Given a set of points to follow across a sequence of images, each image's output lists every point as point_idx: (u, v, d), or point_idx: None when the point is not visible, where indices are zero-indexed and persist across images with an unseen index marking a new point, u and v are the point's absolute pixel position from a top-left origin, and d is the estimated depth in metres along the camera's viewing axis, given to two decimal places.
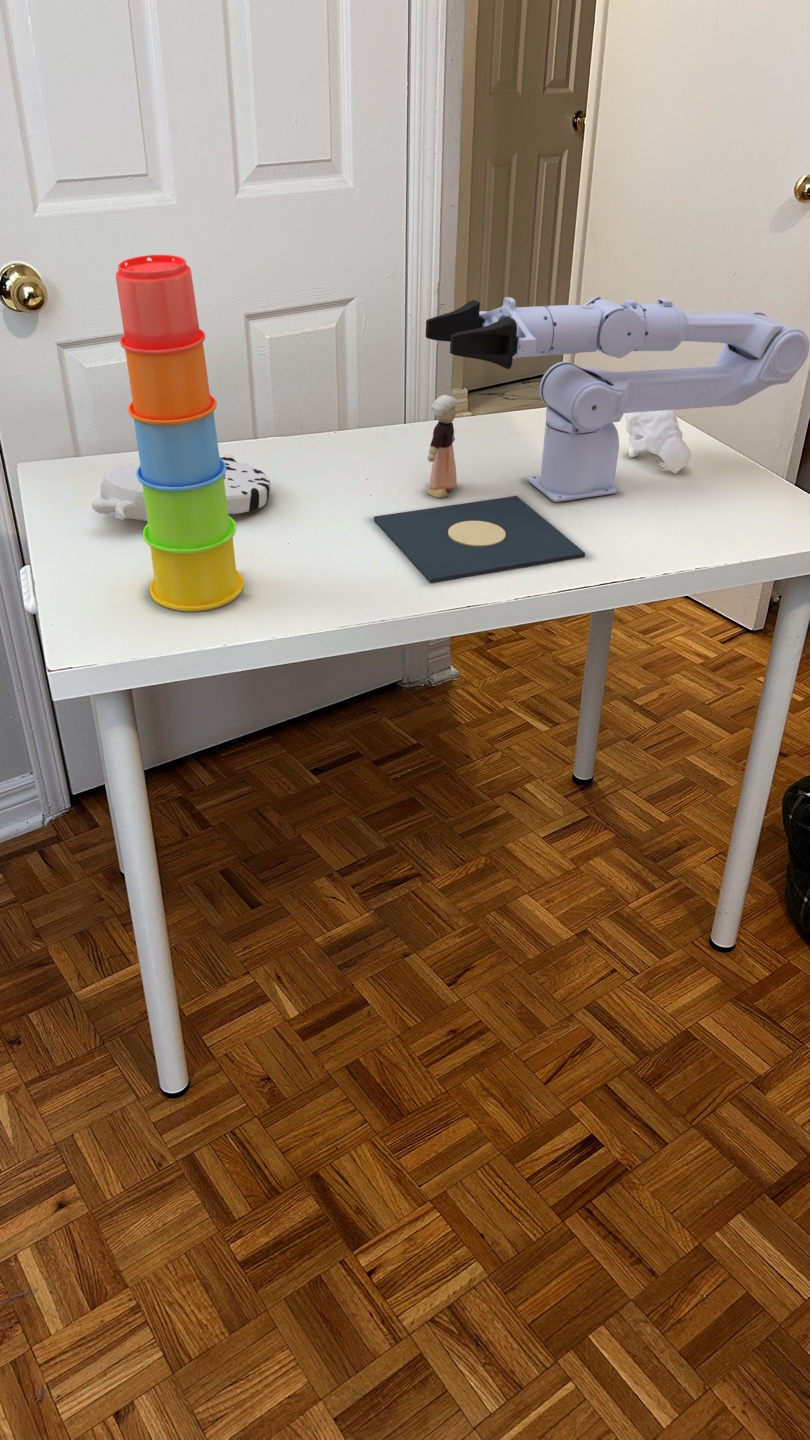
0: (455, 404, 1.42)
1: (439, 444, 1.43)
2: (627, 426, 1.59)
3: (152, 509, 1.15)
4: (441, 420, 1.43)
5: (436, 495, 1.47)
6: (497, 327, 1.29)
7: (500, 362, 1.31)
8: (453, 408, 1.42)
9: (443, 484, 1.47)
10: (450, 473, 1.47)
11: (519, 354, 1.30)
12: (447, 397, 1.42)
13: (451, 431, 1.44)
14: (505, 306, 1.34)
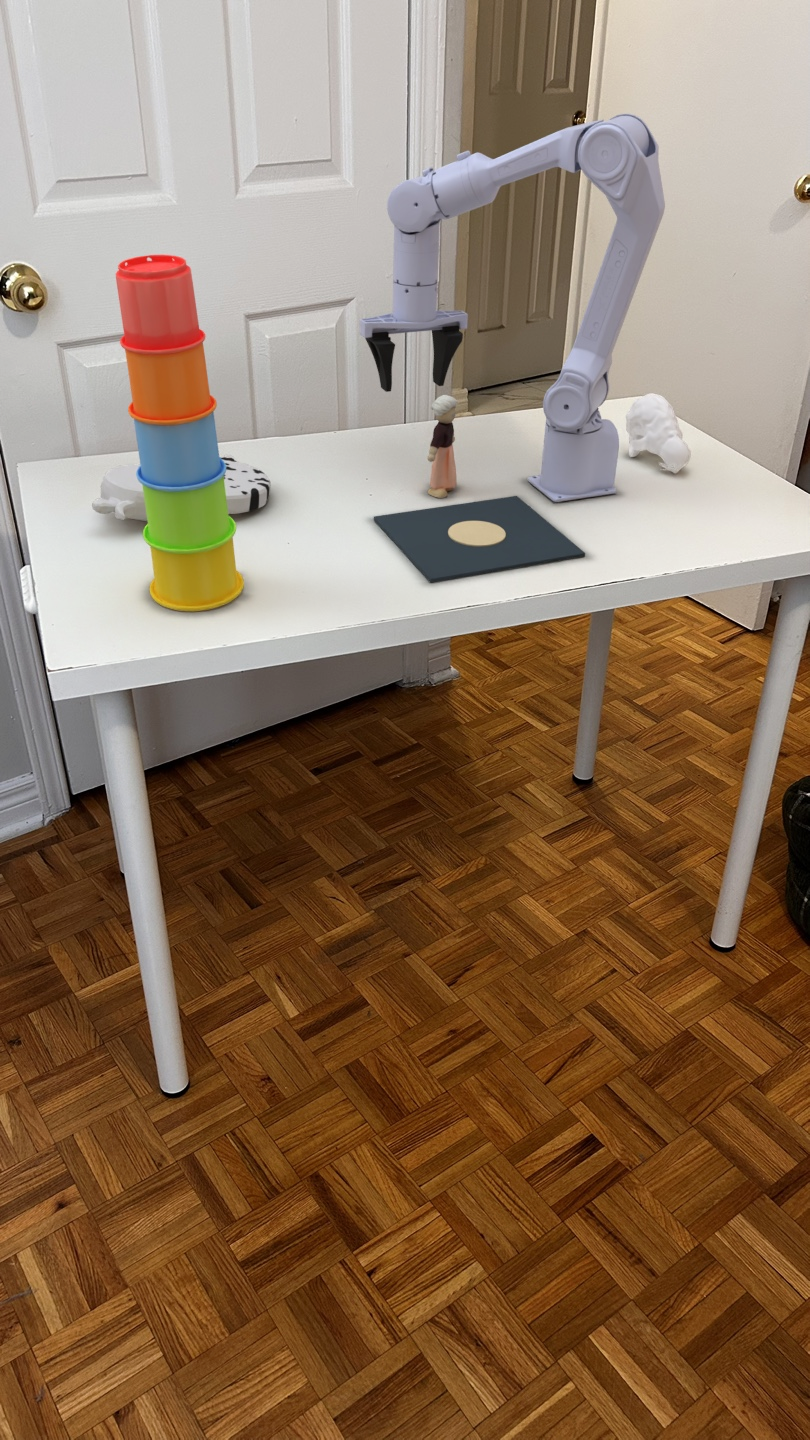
0: (455, 404, 1.42)
1: (439, 444, 1.43)
2: (627, 426, 1.59)
3: (152, 509, 1.15)
4: (441, 420, 1.43)
5: (436, 495, 1.47)
6: None
7: (378, 352, 1.45)
8: (453, 408, 1.42)
9: (443, 484, 1.47)
10: (450, 473, 1.47)
11: None
12: (447, 397, 1.42)
13: (451, 431, 1.44)
14: None
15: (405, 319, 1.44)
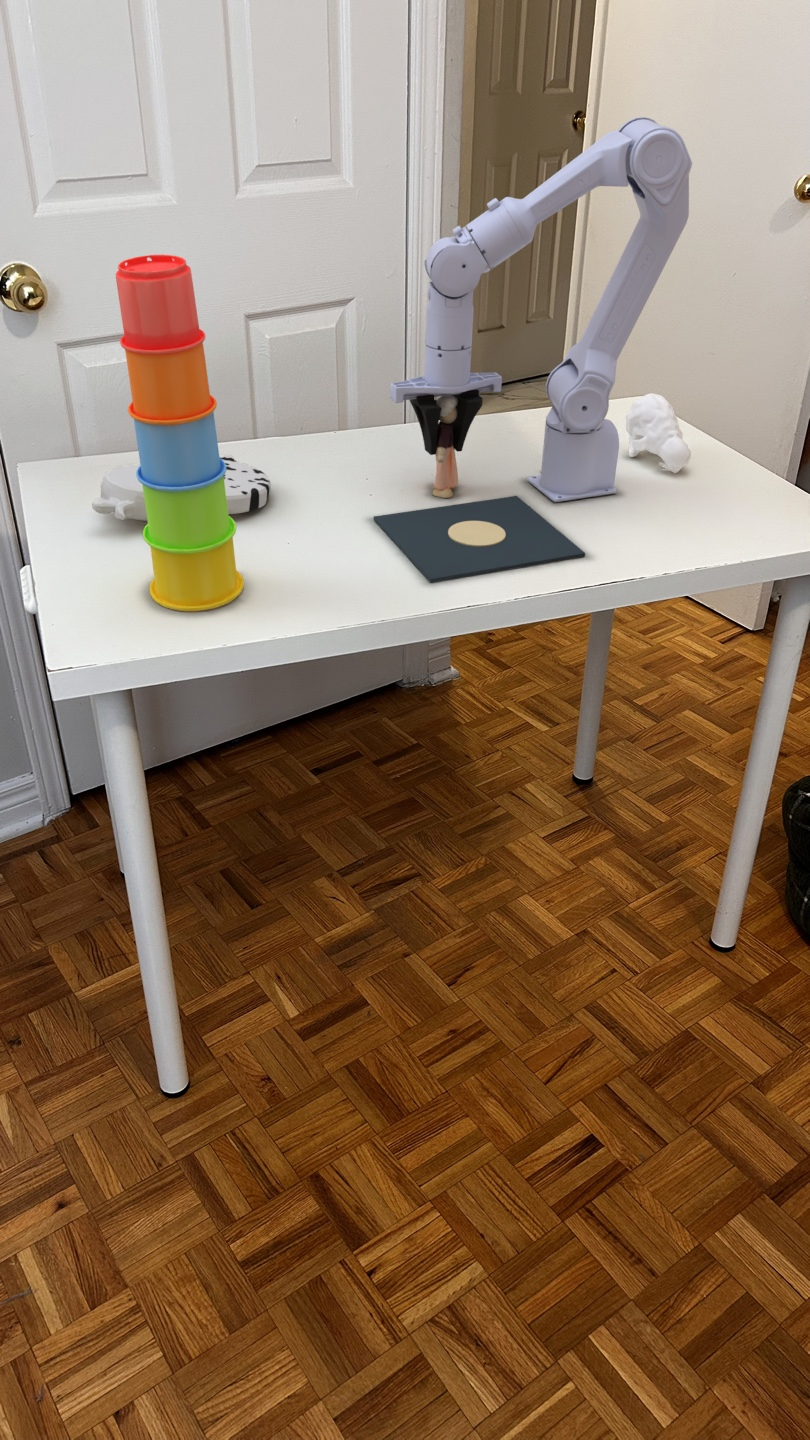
0: (456, 403, 1.43)
1: (447, 444, 1.43)
2: (627, 426, 1.59)
3: (152, 509, 1.15)
4: (445, 420, 1.43)
5: (444, 496, 1.47)
6: None
7: (424, 416, 1.40)
8: None
9: (448, 484, 1.47)
10: (454, 472, 1.47)
11: None
12: (449, 397, 1.42)
13: (452, 430, 1.45)
14: None
15: (438, 384, 1.39)
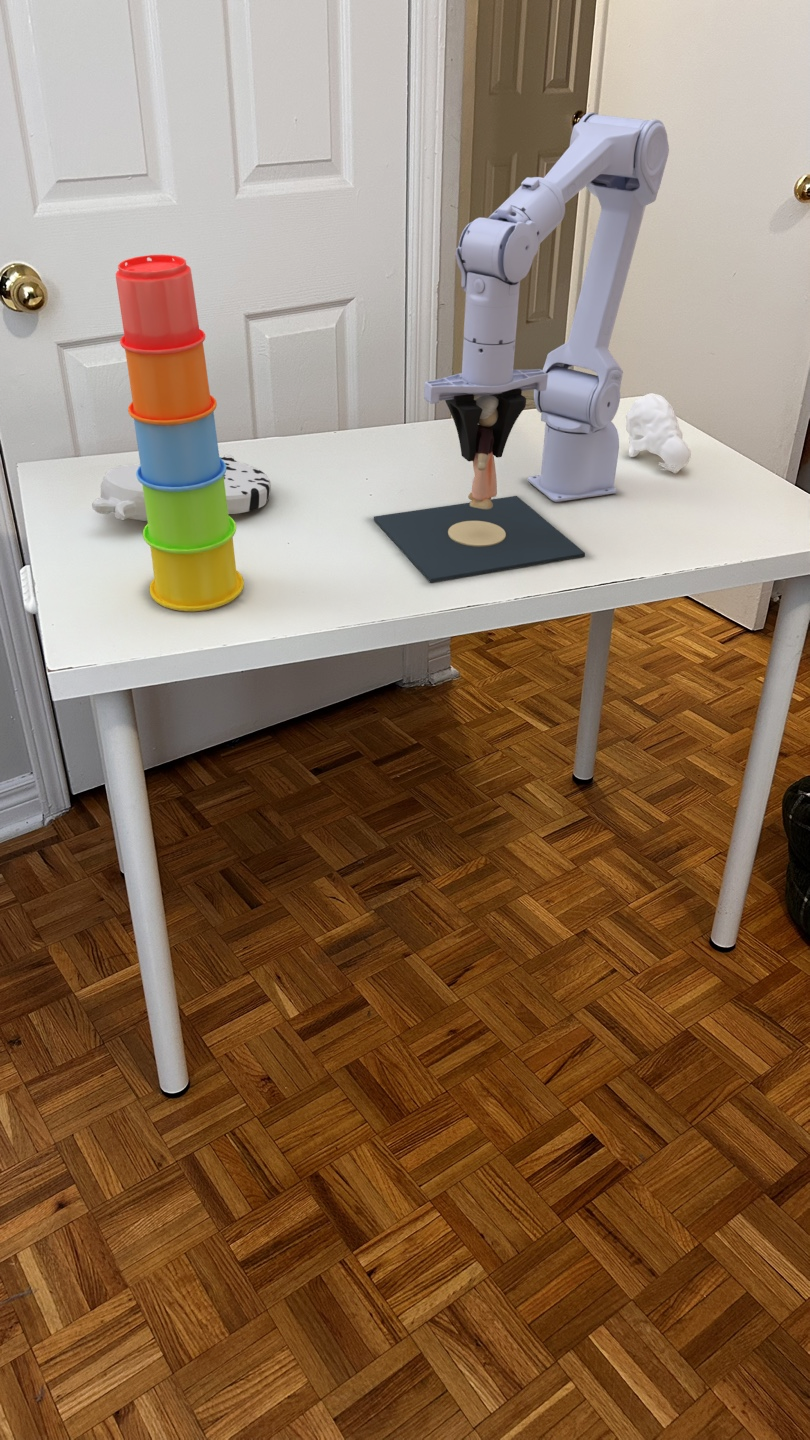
0: (497, 404, 1.28)
1: (488, 450, 1.28)
2: (627, 426, 1.59)
3: (152, 509, 1.15)
4: (485, 423, 1.28)
5: (483, 507, 1.32)
6: (451, 411, 1.29)
7: (463, 418, 1.25)
8: (495, 408, 1.28)
9: (487, 494, 1.32)
10: (493, 480, 1.32)
11: None
12: (490, 397, 1.27)
13: None
14: None
15: (478, 382, 1.24)
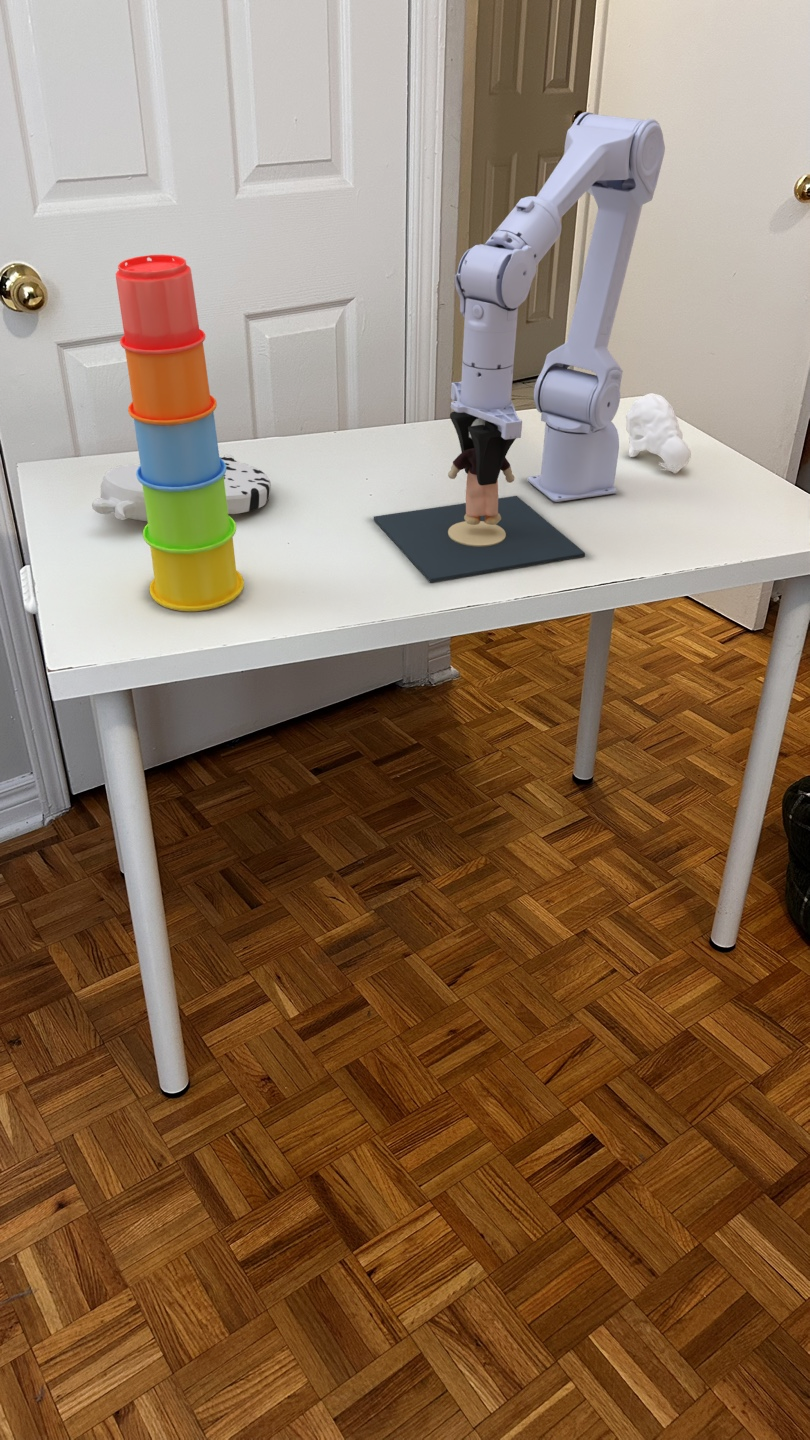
0: None
1: None
2: (627, 426, 1.59)
3: (152, 509, 1.15)
4: None
5: (500, 517, 1.36)
6: (479, 448, 1.27)
7: (512, 440, 1.27)
8: None
9: None
10: None
11: None
12: None
13: None
14: None
15: (509, 402, 1.26)
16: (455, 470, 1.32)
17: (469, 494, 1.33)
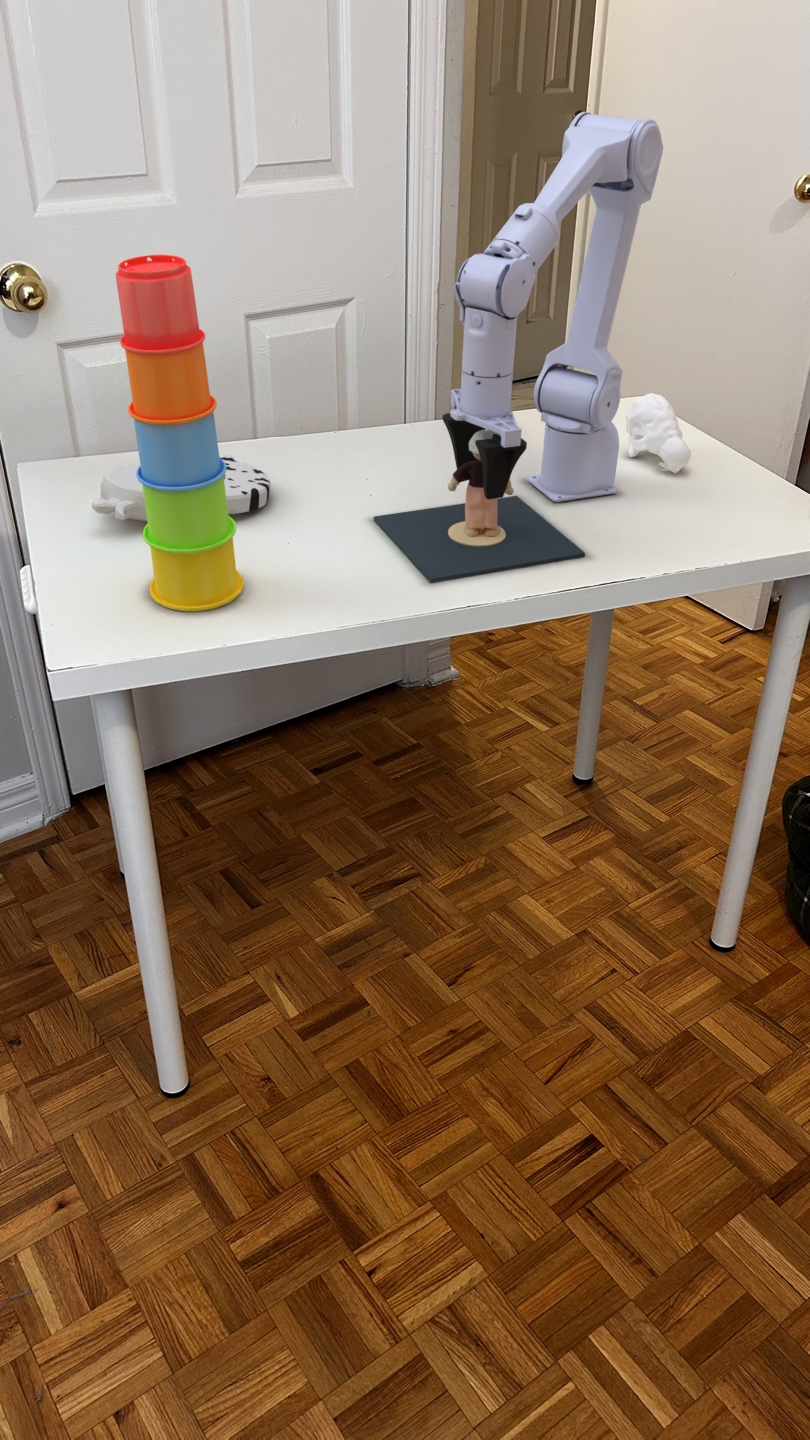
0: None
1: None
2: (627, 426, 1.59)
3: (152, 509, 1.15)
4: None
5: (499, 529, 1.37)
6: (486, 462, 1.26)
7: (519, 454, 1.26)
8: None
9: None
10: None
11: None
12: None
13: None
14: None
15: (508, 410, 1.27)
16: (455, 483, 1.32)
17: (468, 506, 1.34)
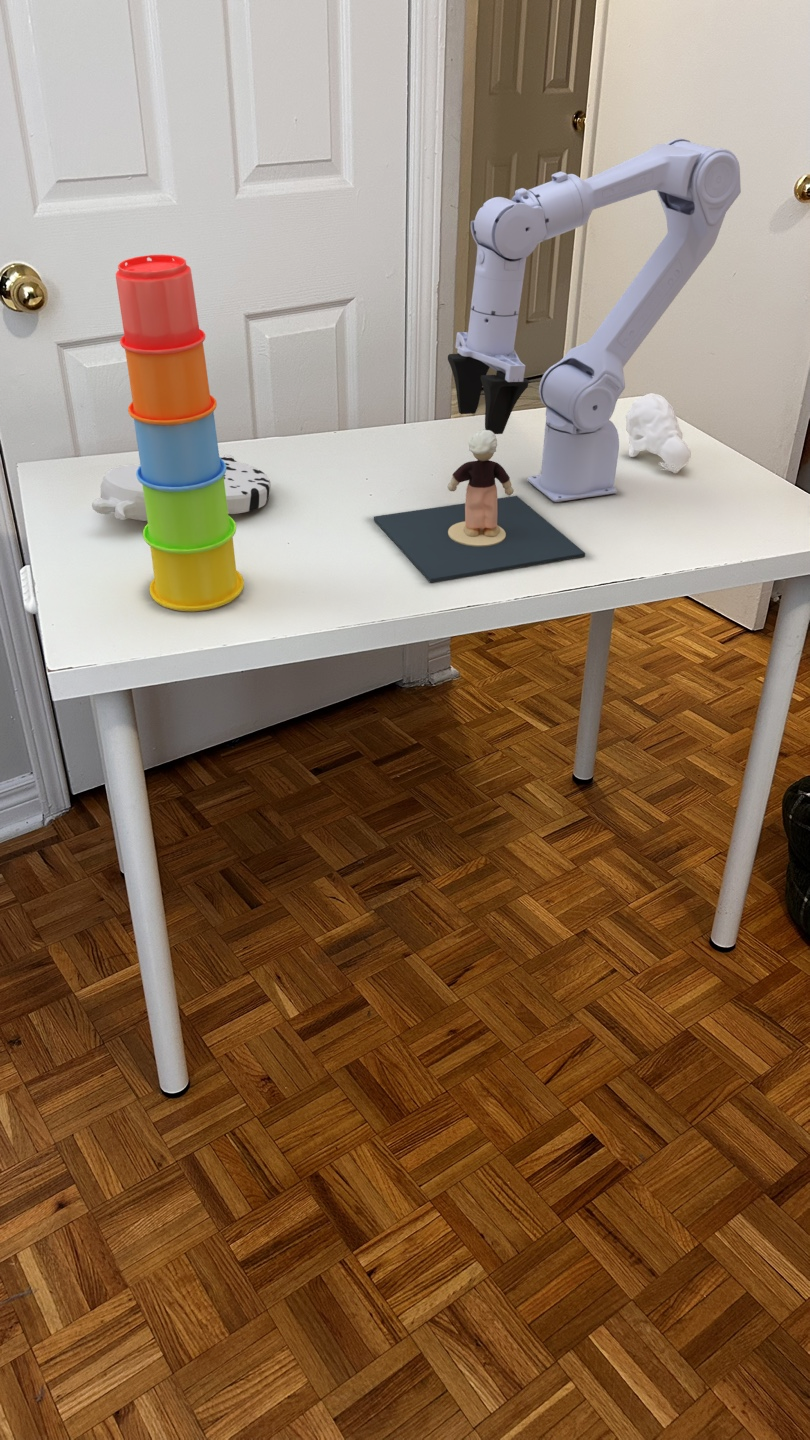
0: None
1: None
2: (627, 426, 1.59)
3: (152, 509, 1.15)
4: (492, 455, 1.31)
5: (499, 529, 1.37)
6: (490, 396, 1.33)
7: (521, 391, 1.34)
8: None
9: None
10: None
11: None
12: (488, 430, 1.30)
13: None
14: None
15: (512, 350, 1.34)
16: (455, 483, 1.32)
17: (468, 506, 1.34)
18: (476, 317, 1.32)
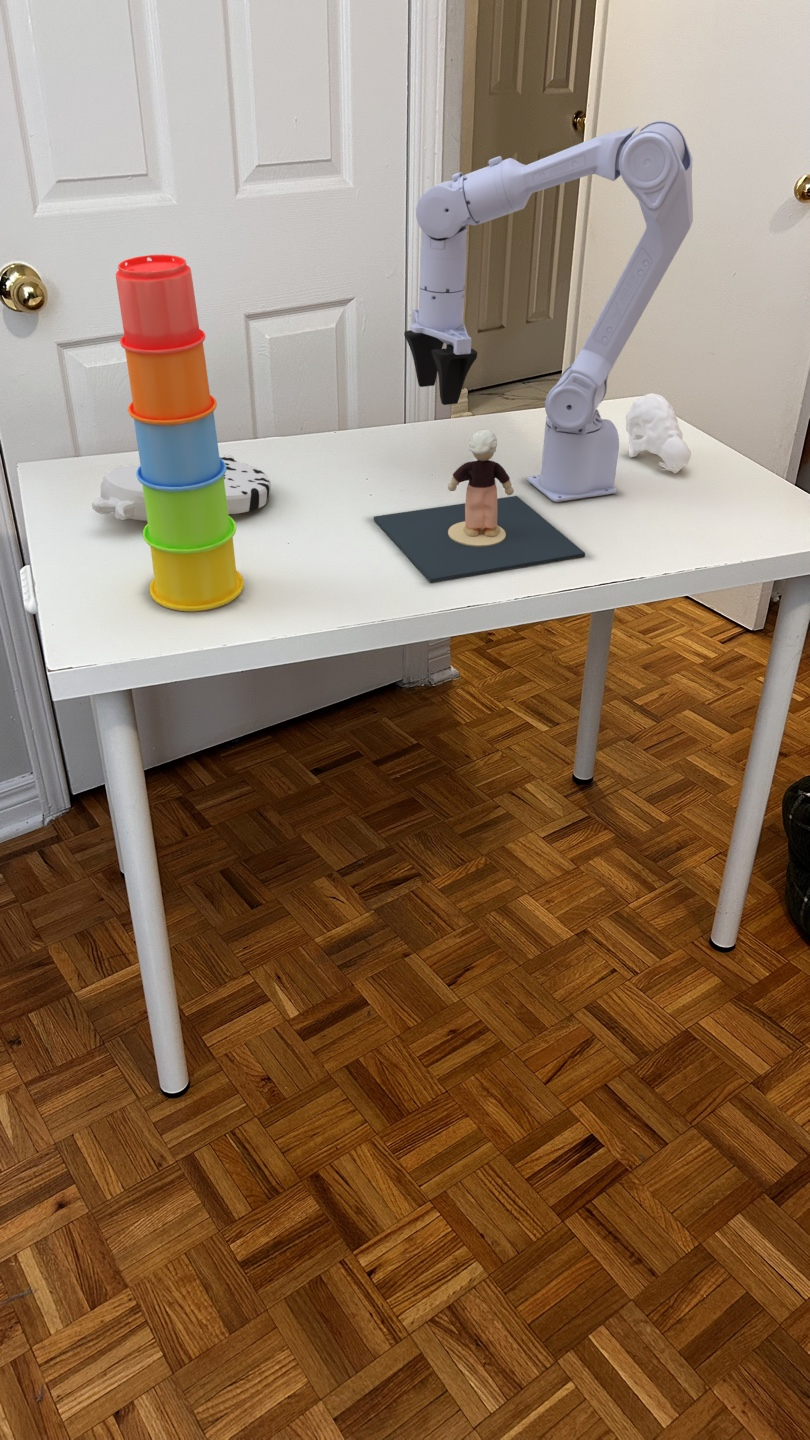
0: None
1: None
2: (627, 426, 1.59)
3: (152, 509, 1.15)
4: (492, 455, 1.31)
5: (499, 529, 1.37)
6: (441, 369, 1.42)
7: (471, 363, 1.42)
8: None
9: None
10: None
11: None
12: (488, 430, 1.30)
13: None
14: None
15: (461, 324, 1.43)
16: (455, 483, 1.32)
17: (468, 506, 1.34)
18: (424, 295, 1.40)
